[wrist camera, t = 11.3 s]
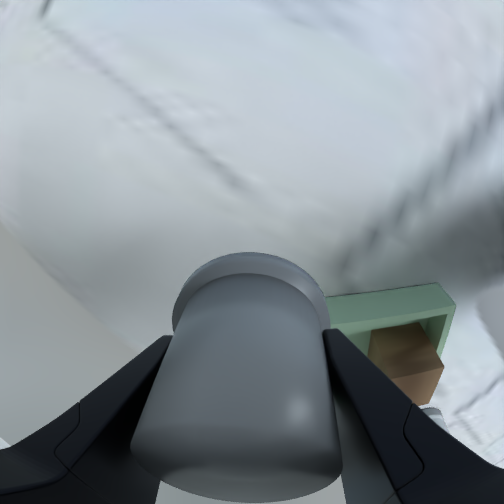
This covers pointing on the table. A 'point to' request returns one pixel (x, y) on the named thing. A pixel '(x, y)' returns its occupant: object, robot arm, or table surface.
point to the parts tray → (393, 313)
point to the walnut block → (407, 359)
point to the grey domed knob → (244, 386)
